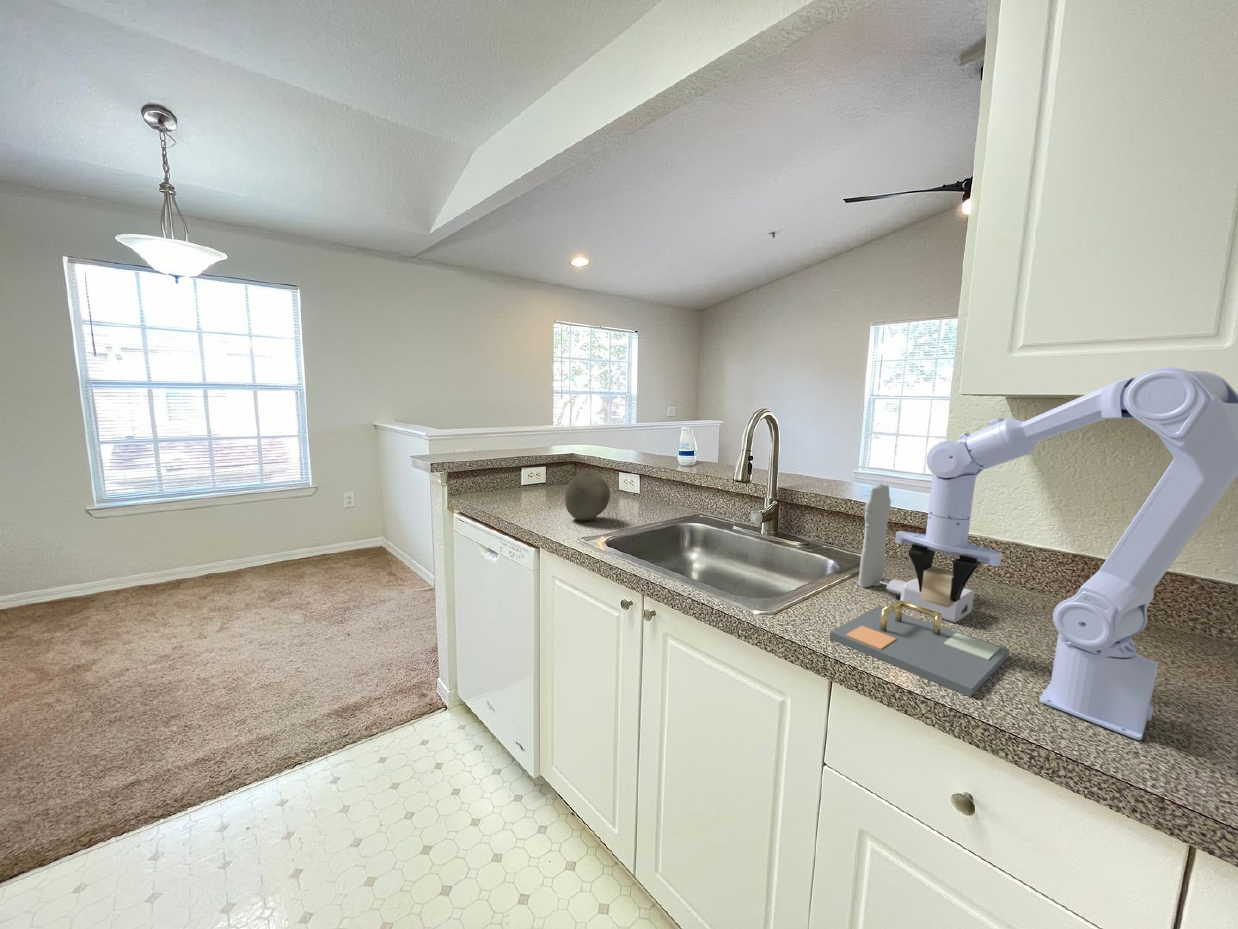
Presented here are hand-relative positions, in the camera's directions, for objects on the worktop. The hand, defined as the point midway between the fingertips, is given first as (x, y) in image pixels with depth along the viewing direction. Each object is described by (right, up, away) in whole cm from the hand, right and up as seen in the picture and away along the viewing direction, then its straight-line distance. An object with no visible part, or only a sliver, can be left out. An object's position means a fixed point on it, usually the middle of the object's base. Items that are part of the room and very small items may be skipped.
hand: (939, 595), depth 81 cm
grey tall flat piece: (+2, -5, +27) cm, 27 cm away
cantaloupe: (-63, +4, +75) cm, 98 cm away
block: (0, -1, 0) cm, 1 cm away
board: (-5, -8, -1) cm, 9 cm away
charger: (+7, -6, +16) cm, 19 cm away
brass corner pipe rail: (-4, -7, +1) cm, 8 cm away
